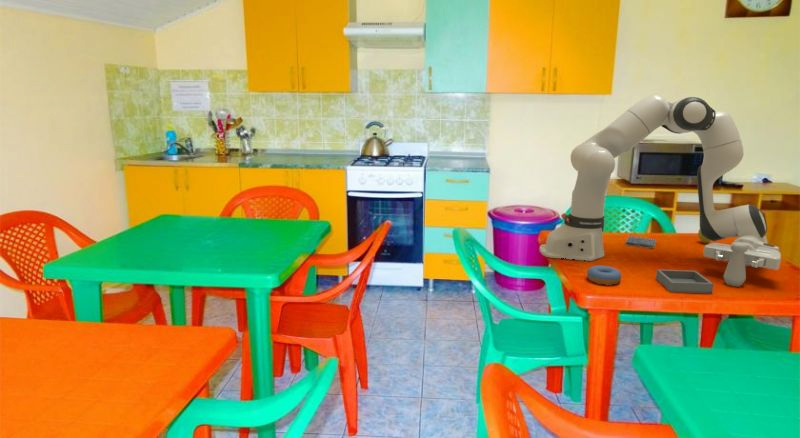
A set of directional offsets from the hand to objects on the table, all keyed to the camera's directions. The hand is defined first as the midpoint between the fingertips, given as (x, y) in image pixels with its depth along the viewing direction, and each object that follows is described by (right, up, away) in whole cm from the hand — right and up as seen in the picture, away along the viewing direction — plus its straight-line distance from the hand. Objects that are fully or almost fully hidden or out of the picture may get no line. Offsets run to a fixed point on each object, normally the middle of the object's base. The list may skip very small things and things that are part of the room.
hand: (736, 261), depth 162 cm
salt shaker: (+1, -7, +2) cm, 8 cm away
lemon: (+17, +3, +46) cm, 49 cm away
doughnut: (-38, -7, +5) cm, 39 cm away
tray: (-16, -7, +1) cm, 17 cm away
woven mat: (-9, +2, +45) cm, 46 cm away
